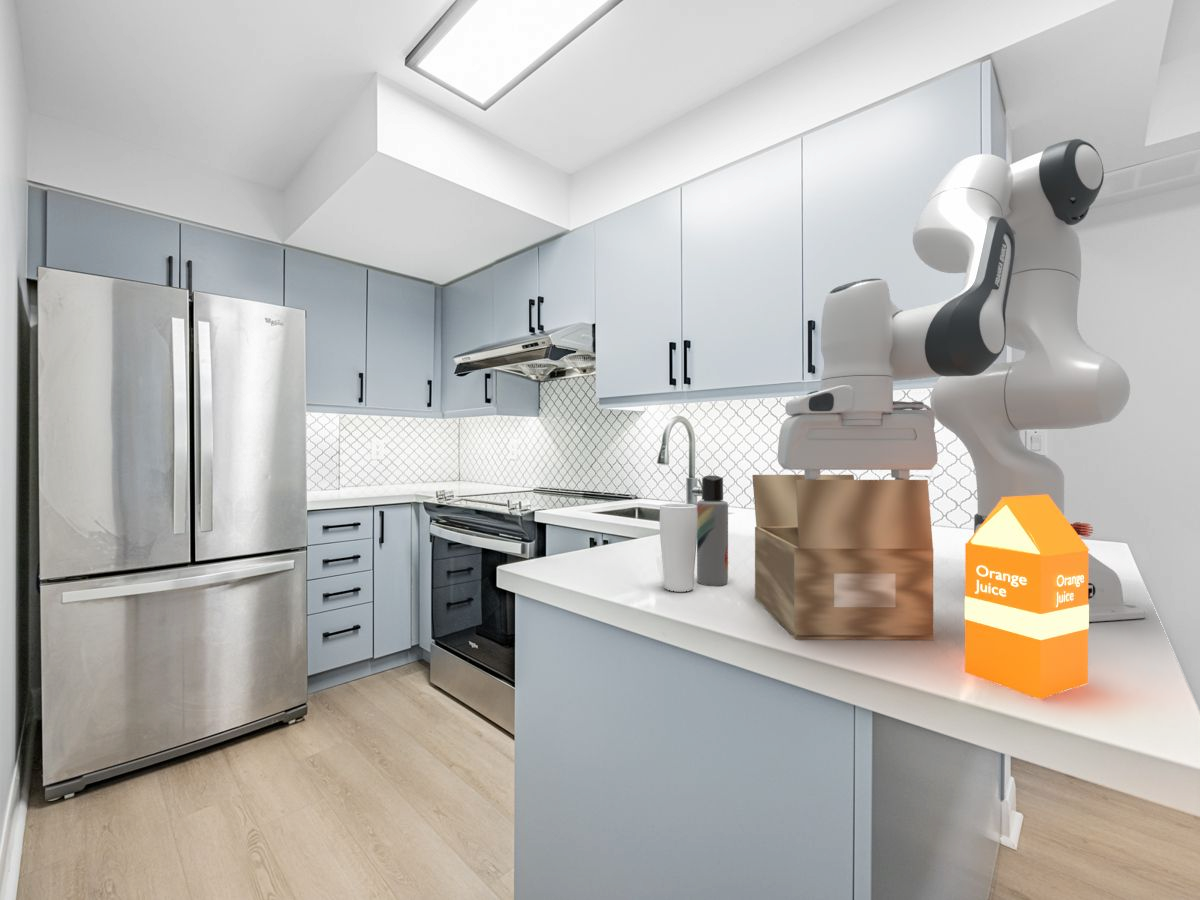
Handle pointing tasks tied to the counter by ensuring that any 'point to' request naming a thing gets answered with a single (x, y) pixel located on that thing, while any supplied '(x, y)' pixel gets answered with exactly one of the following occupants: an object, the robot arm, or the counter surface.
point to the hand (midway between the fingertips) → (855, 503)
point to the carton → (844, 589)
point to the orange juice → (1027, 599)
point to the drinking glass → (678, 545)
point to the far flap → (780, 498)
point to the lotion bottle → (712, 533)
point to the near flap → (863, 514)
